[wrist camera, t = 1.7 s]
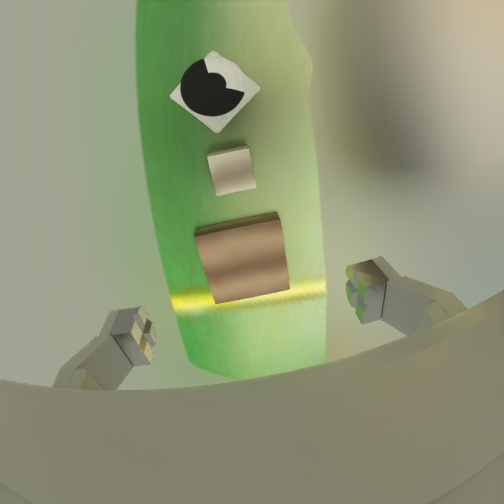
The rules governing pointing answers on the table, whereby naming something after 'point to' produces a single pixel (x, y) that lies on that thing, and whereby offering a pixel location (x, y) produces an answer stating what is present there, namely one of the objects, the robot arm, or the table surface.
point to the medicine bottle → (214, 90)
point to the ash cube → (231, 170)
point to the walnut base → (243, 257)
